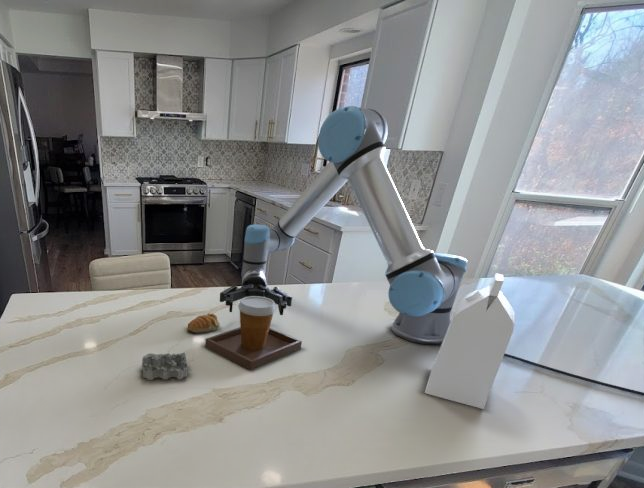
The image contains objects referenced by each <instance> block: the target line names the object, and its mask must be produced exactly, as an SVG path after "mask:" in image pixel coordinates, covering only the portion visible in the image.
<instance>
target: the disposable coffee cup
mask: <svg viewBox="0 0 644 488" xmlns="http://www.w3.org/2000/svg"><path fill="white" fill-rule="evenodd" d="M237 307H238V310H239V320H240V321H239V323H240V327H241V345H242V346H243V347H245V348H247V349H252V350H258V349H262V348H264V347H265V343H266V339H267V335H268V332H269V328H271V324H272V321H273V320H272V319H273V316H274V313H275V312H276V310H277V307H276V304H275V302H274V301H273V300H271V299H269V298H266V297H260V296H249V297H244V298H242V299H240V301H239V303H238V304H237Z"/></svg>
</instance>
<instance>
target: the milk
mask: <svg viewBox="0 0 644 488" xmlns="http://www.w3.org/2000/svg"><path fill="white" fill-rule="evenodd" d="M503 284H504V274H502V273H494V276H493V278H492V280H491V282H490V284H489V285H488V286H487V285H486V286H485V287H483V288H481V289H475V290H474V291H471V292H470V293H467V294H466V295H465V296H464V297H463V298H461V299H460V300H458V302H457V304H456V307H455V310H454V312H453V314H452V316H451V318H450V324H449V327H448V330H447V332H446V335H445V337H444V340H443V342H442V344H440V347H439V351H438V352H437V355H436V358H435V360H434V363H433V365H432V368H431V370H430V373H429V377H428V380H427V382H426V383H427V384H426V387H425V390H424V394H426V395H430V396H433V397H437V398H441V399H445V400H448V401H452V402H456V403H459V404H463V405H467V406H470V407H473V408H478V409H480V410H481V409H482V410H484V409H485V406H486V403H487V400H488V398H489V396H490V393H491V390H492V388H493V385H494V382H495V380H496V377H497V375H498V373H499V369H500V368H501V367H500V366H501V364H502V362H503V359H504V357H505V356H504V354H506V351H507V348H508V346H509V343H510V342H511V341H510V340H511V338H512V336H513V333H514V330H515V326H516V318H515V310H514V308H513V307H512V305H511V303H510V302H509V301H508V300H509V299H507V297H506V296H505V295H504V293H503V292H502V290H501V288H502V286H503Z"/></svg>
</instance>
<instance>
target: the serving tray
mask: <svg viewBox="0 0 644 488" xmlns="http://www.w3.org/2000/svg"><path fill="white" fill-rule="evenodd" d="M302 342H303V341H302V339H301V340H300V339H298V338H295V337H293V336H291V335H288V334H286V333H283V332H282V331H279V330H276V329H274V328H271V327H270V328H269V332H268V335H267V339H266V343H265V347H264V348H262V349H258V350H252V349H247V348H245V347H243V346H242V345H241V326H240V327H236V328H233V329H231V330H228V331H225V332H221V333H219V334H216V335H212V336H210V337H207V338H205V342H204V346H205V348H207V349H209V350H211V351H213V352H215V353H216V354H219V355H220V356H223V357H224V358H227V359H228V360H230V361H233V362H235V363H236V364H238V365H240V366H242V367H244V368H246V369H248V370H249V371H252V370H254V369H257V368H259V367H261V366H263V365H266V364H268V363H271V362H272V361H275V360H278V359H280V358H282V357H285V356H287V355H289V354H292V353H294V352H297V351H299V350H301V348H302V344H303V343H302Z"/></svg>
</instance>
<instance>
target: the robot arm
mask: <svg viewBox="0 0 644 488" xmlns="http://www.w3.org/2000/svg"><path fill="white" fill-rule="evenodd" d="M388 129H389V128H388V123H387V119H386V118H385V116H384V115H383V114H382V113H381V112H379V111H378V110H376V109H372V108H363V107H358V106H356V105H349V106H348V105H347V106H343V107H339V108H337V109H335V110H334V111H332V112H331V113H330V114H329V115H327V117H326V118H325V120H324V121H323V123H322V124H321V126H320V129H319V133H318V138H317V145H318V146H317V147H318V150H319V153H320V155H321V156H322V158H324V160H326V161H327V162H328V163H327V164H326V165H325V166H324V167H323V169H322V170H320V172H319V173H318V175H317V176H315V178H314V179H313V180H312V182H310V183H309V185H308V186H307V187H306V188H305V190H304V191H303V192H302V193H301V194H300V195H299V197H298V198H296V199H295V201H294V202H293V203H292V205H291V206H290V207H289V208H288V209H287V210H286V212H284V214H283V215H282V217H280V219H279V220H278V221H277V222H276V224H275V225H274V226H273V227H272V228H270V226H268V225H265V224H249V225H248V226H247V227H246V229H245V236H244V244H243V245H244V247H243V257H242V258H243V259H242V269H241V273H240V276H241V286H240V287H238V286H237V284H231V286H229V287H228V288H226V289H224V290H223V291H221V292H219V302H220V303H223V302H225V306H227V307H229V310H228V312H229V313H233V305H234V304H233V303H234V302H237V301H239V300H240V301H241V299H242V298H244V297H249V296H260V297H266V298H269V299H271V300H273V301H274V302H275V305H277V308H278V312H279V315H280V316H284V311H285V309H287V306H288V307H291V306H292V303H293V302H292V301H293V296H291V295H290V294H288V293H286V292H284V291H283V290H282V289H280V288H279V287H278V286H274V287H273V288H271V289H270V288H269V287H268V284H267V279H266V269H267V260H268V255H269V254H273V253H276V252H279V251H285V250H286V249H289V248H290V247H291V246H293V244H294V243H295V241H296V237H297V235H298V234H299V233H301V232H302V230H303V229H304V228H306V226H307V225H308V224H309V223H310V222H311V220H312V219H313V218H314V217H315V216H317V214H318V213H319V212H320V211H321V210H322V209H323V208H324V207H325V206H326V204H327V203H329V202H330V200H332V198H333V197H334V196H335V195H336V194H337V193H338V191H340V189H342V187H343V186H344V185H345V184H346V183H347V182H349V184H350V186H351V189H352V191H353V193H354V195H355V197H356V199H357V201H358V203H359V206H360V208H361V210H362V212H363V214H364V216H365V219H366V221H367V223H368V226H369V227H370V230H371V231H372V233H373V236H374V238H375V240H376V242H377V244H378V247H379V249H380V251H381V253H382V256H383V258H384V260H385V262H386V263H387V264H386V265H387V268H386V271H385V273H384V275H385V277H386V280H387V282H388V284H389V288H388V295H387V296H388V300H389V303H390V305H391V306H392V308H393V309H394V310H395V311H396V312H398V315H397V316H396V318H395V319H394V321H393V322H392V326H391V332H392V333H393V334H394V335H396V336H397V337H398V338H401V339H403V340H405V341H409V342H411V343H416V344H421V345H431V346H432V345H436V346H437V345H442V342H443V340H444V337H445V335H446V332H447V330H448V327H449V324H450V322H451V312H452V309H453V306H454V304H455V301H456V298H457V295H458V292H459V289H460V286H461V284H462V281H463V279H464V275H465V273H466V272H467V266H468V260H467V259H466V258H465V257H463V256H458V255H454V254H449V253H442V252H434V250H431V249H428V248H425V247H424V246H423V244H422V242H421V239H420V238H419V235H418V233H417V231H416V228H415V227H414V224H413V223H412V220H411V218H410V216H409V213H408V211H407V210H406V207H405V205H404V203H403V200H402V199H401V196H400V194H399V192H398V190H397V188H396V185H395V183H394V181H393V179H392V177H391V174H390V173H389V170H388V167H387V166H386V163H385V162H384V155H385V152H386V150H387V149H386V146H385V143H386V141H387V138H388V133H389V131H388ZM503 357H506V358H508V359H513V360H515V361H519V362H523V363H524V364H525V363H526V364H528V365H532V366H534V367H538V368H540V369H543V370H547V371H550V372H553V373H557V374H559V375H564V376H567V377H571V378H575V379H577V380H581V381H585V382H587V383H588V382H589V383H593V384H595V385H599V386H603V387H607V388H610V389H614V390H618V391H622V392H627V393H631V394H635V395H638V396H643V397H644V392H643V391H640V390H635V389H631V388H626V387H623V386H619V385H614V384H611V383H606V382H603V381H599V380H595V379H592V378H588V377H584V376H581V375H577V374H574V373H570V372H567V371H564V370H560V369H557V368H554V367H550V366H547V365H544V364H541V363H537V362H535V361H531V360H528V359H525V358H522V357H518V356H516V355H512V354H508V353H505V354H504V356H503Z"/></svg>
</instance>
